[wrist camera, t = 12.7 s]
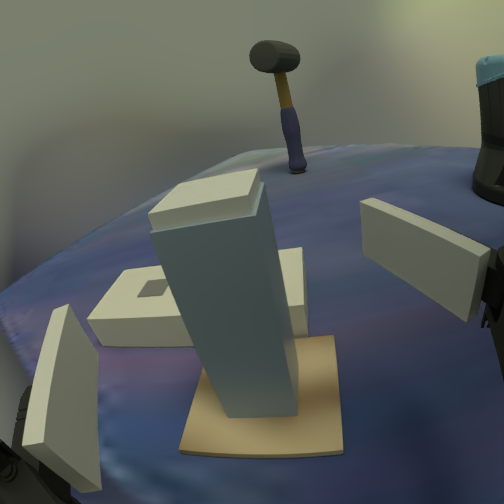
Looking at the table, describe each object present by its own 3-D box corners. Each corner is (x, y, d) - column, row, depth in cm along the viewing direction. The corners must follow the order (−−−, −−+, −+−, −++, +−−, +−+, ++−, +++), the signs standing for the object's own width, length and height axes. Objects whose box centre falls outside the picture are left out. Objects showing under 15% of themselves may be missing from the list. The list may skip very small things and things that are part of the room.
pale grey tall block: (237, 368, 23) (177, 183, 16) (298, 364, 22) (261, 167, 16) (228, 417, 19) (143, 215, 13) (297, 415, 18) (251, 195, 12)
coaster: (212, 349, 26) (209, 344, 26) (333, 340, 24) (333, 334, 24) (181, 453, 17) (178, 449, 17) (342, 454, 15) (343, 449, 15)
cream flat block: (163, 254, 45) (155, 231, 44) (303, 235, 41) (299, 209, 40) (102, 346, 29) (86, 318, 27) (308, 338, 25) (303, 303, 23)
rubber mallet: (293, 165, 76) (269, 46, 63) (322, 164, 72) (299, 40, 59) (272, 181, 67) (242, 43, 54) (305, 180, 63) (276, 34, 50)
